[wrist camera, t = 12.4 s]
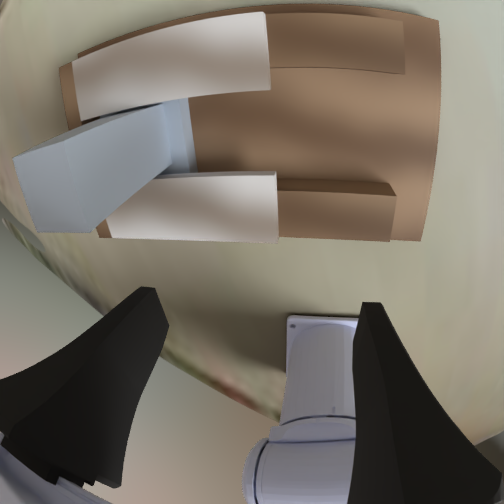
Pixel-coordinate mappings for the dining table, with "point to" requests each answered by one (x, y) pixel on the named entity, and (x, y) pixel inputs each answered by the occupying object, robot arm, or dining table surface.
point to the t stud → (104, 164)
